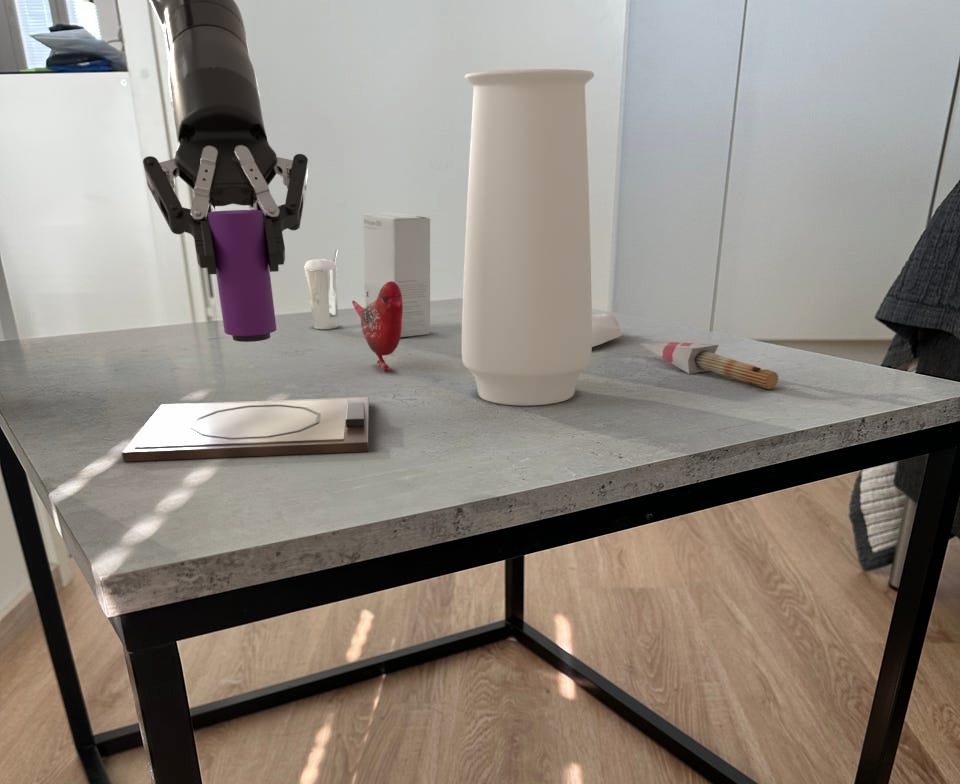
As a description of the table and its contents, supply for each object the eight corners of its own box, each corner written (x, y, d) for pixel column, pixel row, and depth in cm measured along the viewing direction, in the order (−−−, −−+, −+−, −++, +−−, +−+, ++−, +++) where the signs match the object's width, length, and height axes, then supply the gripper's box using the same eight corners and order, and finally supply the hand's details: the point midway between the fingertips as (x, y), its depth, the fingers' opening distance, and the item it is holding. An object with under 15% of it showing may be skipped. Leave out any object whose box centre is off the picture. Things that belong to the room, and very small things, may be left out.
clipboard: (123, 462, 76) (119, 443, 75) (162, 412, 90) (160, 397, 89) (368, 451, 77) (366, 434, 77) (369, 404, 91) (368, 389, 91)
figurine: (530, 314, 132) (526, 188, 123) (645, 327, 122) (650, 192, 113) (445, 352, 119) (434, 214, 110) (567, 370, 109) (566, 222, 100)
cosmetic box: (365, 330, 128) (357, 213, 121) (401, 325, 131) (396, 211, 124) (397, 339, 122) (391, 216, 115) (435, 333, 125) (431, 213, 118)
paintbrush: (662, 327, 109) (787, 365, 94) (659, 351, 111) (782, 392, 96) (636, 330, 108) (759, 369, 93) (634, 354, 109) (755, 396, 94)
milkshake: (353, 326, 131) (347, 250, 127) (323, 331, 128) (316, 254, 123) (333, 322, 134) (326, 248, 130) (303, 327, 131) (295, 251, 126)
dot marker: (222, 344, 78) (203, 214, 73) (229, 334, 82) (211, 210, 77) (275, 342, 78) (259, 212, 74) (279, 332, 82) (265, 209, 77)
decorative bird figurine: (391, 383, 100) (385, 284, 95) (345, 354, 114) (338, 267, 109) (416, 380, 100) (412, 283, 96) (367, 352, 115) (361, 266, 110)
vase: (523, 374, 102) (525, 80, 89) (615, 392, 94) (633, 72, 81) (436, 395, 94) (425, 75, 81) (529, 417, 86) (533, 66, 73)
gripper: (122, 63, 75) (145, 237, 70) (299, 64, 78) (332, 230, 74) (137, 138, 82) (159, 301, 77) (299, 136, 85) (329, 292, 81)
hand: (243, 265), depth 75 cm, fingers closed on dot marker, 4 cm apart
